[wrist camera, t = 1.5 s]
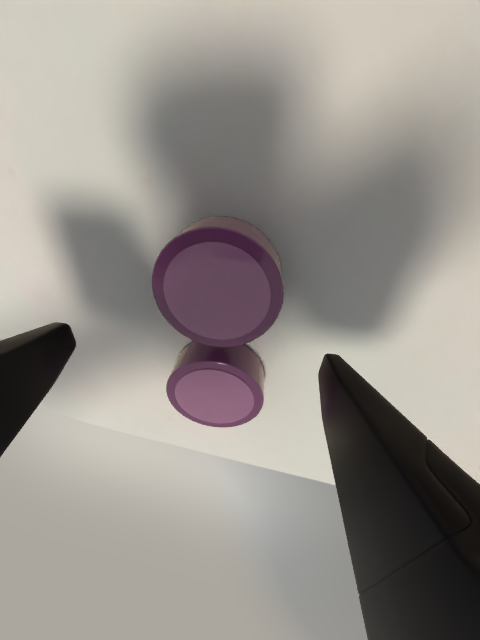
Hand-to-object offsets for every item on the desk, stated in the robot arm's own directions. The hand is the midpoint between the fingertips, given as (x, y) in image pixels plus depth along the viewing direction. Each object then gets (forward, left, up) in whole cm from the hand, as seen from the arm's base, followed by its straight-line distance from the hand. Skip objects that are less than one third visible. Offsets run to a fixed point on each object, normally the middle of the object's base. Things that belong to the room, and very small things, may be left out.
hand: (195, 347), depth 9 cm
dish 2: (0, -7, -6) cm, 10 cm away
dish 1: (0, 0, -6) cm, 6 cm away
